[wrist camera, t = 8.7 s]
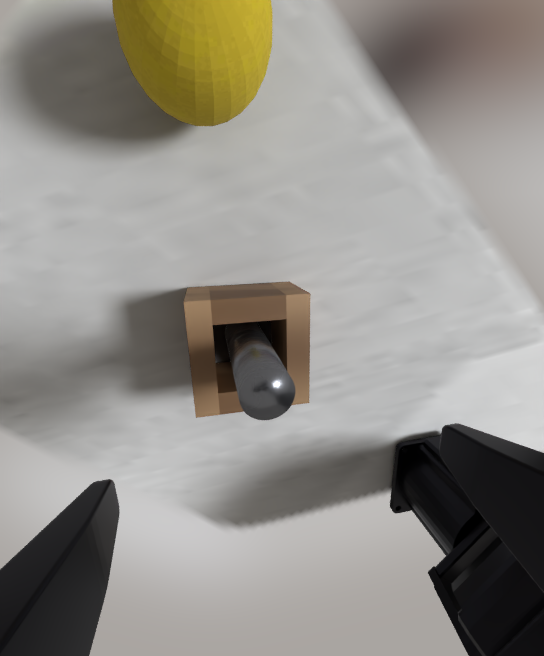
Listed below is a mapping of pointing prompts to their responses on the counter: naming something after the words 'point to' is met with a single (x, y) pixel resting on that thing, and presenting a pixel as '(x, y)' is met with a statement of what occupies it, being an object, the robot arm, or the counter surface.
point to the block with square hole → (238, 307)
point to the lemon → (197, 53)
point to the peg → (258, 372)
